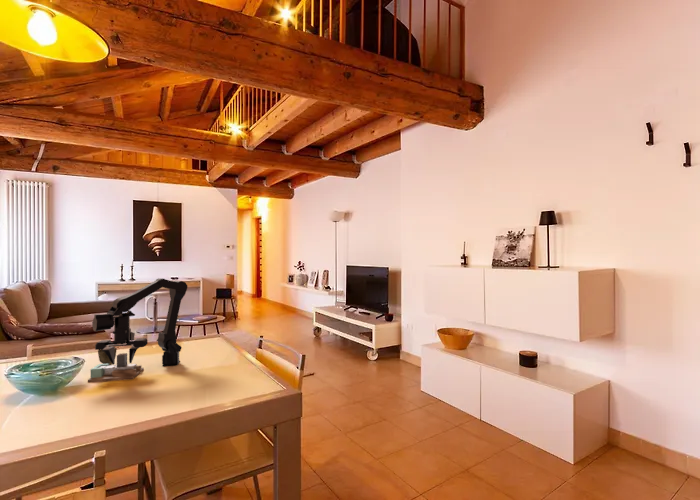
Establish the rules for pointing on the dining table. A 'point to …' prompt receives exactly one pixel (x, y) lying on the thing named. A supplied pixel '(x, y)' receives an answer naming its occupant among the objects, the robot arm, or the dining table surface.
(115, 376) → the slide base
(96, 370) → the socket block
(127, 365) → the grey t-shaped block
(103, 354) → the cup
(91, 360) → the dining table surface
